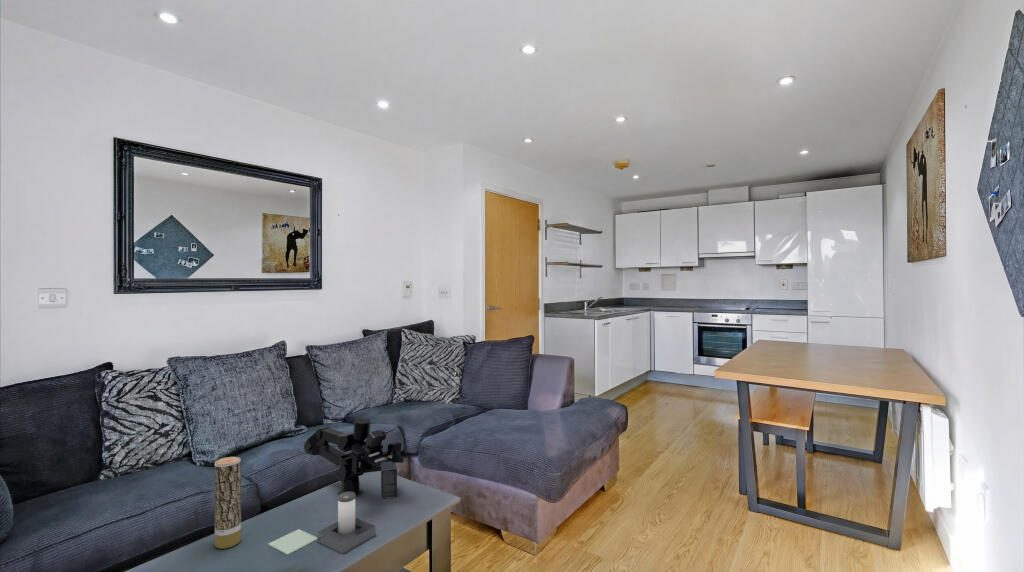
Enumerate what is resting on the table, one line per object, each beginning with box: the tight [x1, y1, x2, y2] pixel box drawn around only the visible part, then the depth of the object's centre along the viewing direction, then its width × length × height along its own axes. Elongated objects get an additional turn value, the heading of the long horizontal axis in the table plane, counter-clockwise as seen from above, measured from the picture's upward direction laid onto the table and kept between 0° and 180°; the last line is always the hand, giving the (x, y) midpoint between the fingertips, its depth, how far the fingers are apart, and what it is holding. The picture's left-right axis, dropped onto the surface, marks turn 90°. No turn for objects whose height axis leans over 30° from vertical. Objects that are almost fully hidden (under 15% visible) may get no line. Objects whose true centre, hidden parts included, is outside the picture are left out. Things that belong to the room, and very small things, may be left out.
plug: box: [337, 492, 356, 537], centre depth 144 cm, size 5×5×13 cm
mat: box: [267, 528, 317, 556], centre depth 142 cm, size 10×10×1 cm
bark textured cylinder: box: [214, 456, 242, 550], centre depth 142 cm, size 7×7×25 cm
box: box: [380, 461, 398, 499], centre depth 176 cm, size 8×6×11 cm
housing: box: [316, 517, 377, 555], centre depth 144 cm, size 12×12×3 cm
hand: (392, 465), depth 160 cm, fingers open, 9 cm apart
